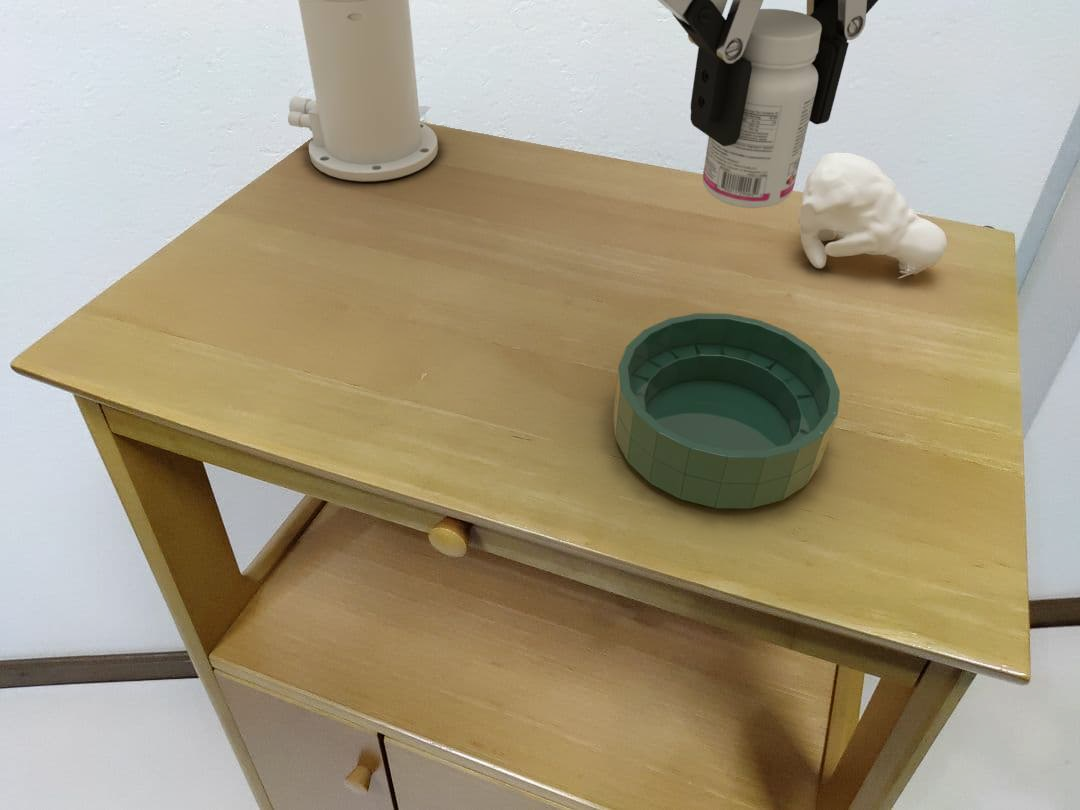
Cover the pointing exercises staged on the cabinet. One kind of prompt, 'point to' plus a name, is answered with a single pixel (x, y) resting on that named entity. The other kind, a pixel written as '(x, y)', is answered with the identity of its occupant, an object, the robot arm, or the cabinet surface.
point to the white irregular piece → (863, 216)
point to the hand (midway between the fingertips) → (759, 120)
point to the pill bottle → (769, 114)
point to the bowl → (724, 409)
